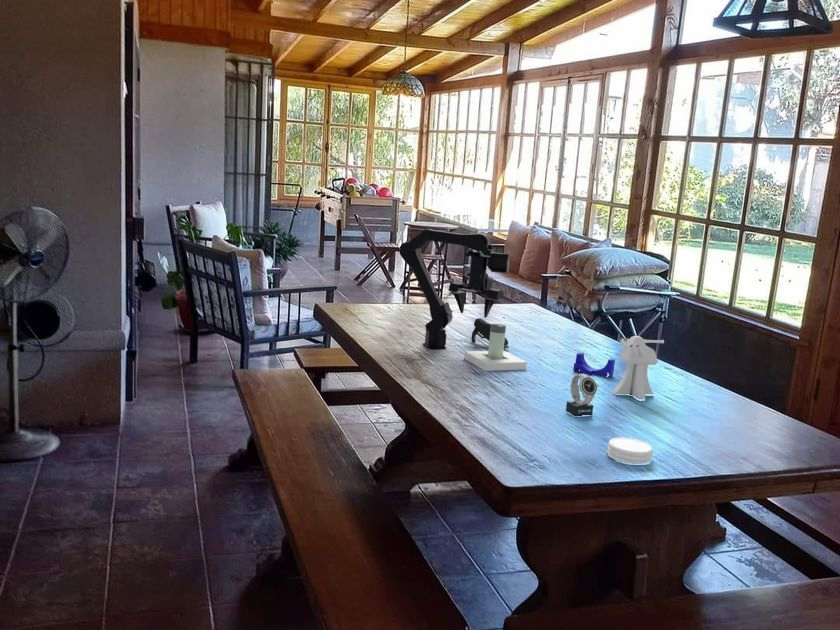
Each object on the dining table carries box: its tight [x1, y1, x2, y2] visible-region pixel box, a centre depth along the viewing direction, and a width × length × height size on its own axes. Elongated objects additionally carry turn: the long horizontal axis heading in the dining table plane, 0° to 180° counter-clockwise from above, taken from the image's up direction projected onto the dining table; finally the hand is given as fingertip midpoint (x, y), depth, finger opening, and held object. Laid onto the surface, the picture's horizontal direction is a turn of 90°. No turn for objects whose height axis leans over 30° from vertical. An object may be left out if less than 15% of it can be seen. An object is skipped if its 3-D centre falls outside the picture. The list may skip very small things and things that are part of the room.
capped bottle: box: [487, 323, 507, 360], centre depth 253 cm, size 5×5×13 cm
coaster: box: [606, 436, 654, 464], centre depth 177 cm, size 10×10×4 cm
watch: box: [565, 373, 598, 416], centre depth 206 cm, size 6×8×11 cm
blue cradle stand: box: [572, 351, 616, 378], centre depth 251 cm, size 12×4×6 cm, turn 60°
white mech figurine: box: [612, 335, 665, 399], centre depth 229 cm, size 12×13×18 cm
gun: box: [471, 317, 510, 350], centre depth 280 cm, size 3×16×10 cm, turn 53°
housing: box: [463, 350, 528, 372], centre depth 254 cm, size 15×15×2 cm
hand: (473, 315), depth 265 cm, fingers open, 9 cm apart
